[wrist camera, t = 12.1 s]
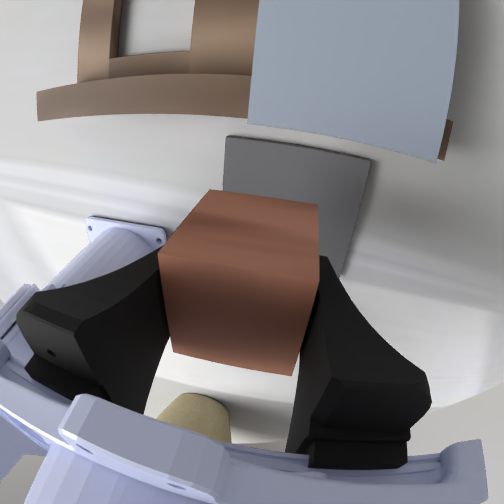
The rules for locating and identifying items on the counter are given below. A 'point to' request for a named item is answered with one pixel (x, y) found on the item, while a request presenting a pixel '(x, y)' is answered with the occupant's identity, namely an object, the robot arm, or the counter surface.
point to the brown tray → (165, 68)
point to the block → (242, 280)
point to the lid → (357, 70)
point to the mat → (302, 184)
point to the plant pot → (199, 416)
